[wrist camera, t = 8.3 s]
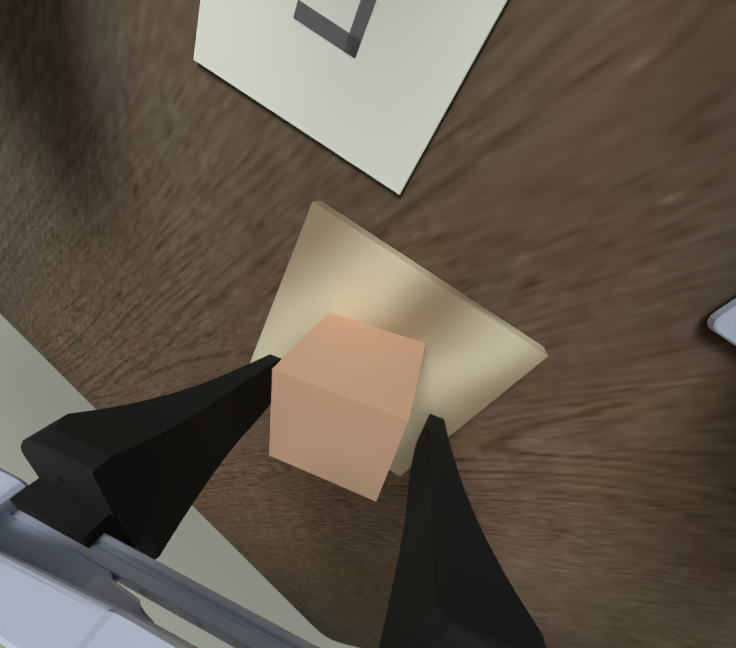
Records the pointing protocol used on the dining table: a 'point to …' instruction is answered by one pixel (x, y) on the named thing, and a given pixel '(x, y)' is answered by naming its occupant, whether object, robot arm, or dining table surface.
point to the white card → (350, 68)
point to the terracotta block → (344, 402)
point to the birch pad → (398, 321)
